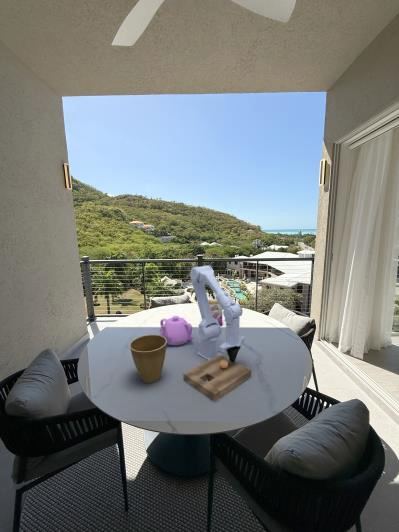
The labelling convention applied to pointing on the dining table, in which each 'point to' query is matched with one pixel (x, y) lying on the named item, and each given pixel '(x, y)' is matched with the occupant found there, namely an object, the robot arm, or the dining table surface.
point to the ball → (224, 364)
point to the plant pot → (149, 356)
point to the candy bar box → (216, 310)
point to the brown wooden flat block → (216, 377)
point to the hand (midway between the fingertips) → (232, 361)
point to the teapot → (176, 330)
